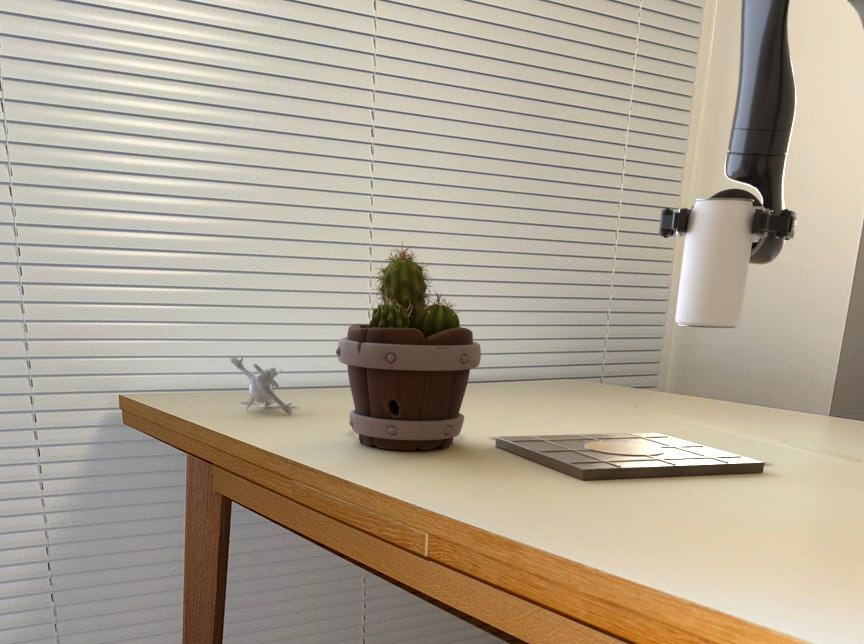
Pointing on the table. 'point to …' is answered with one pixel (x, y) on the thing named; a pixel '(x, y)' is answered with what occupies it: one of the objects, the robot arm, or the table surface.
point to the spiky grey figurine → (262, 385)
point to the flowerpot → (408, 364)
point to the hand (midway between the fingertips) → (719, 220)
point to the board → (626, 455)
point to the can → (715, 263)
